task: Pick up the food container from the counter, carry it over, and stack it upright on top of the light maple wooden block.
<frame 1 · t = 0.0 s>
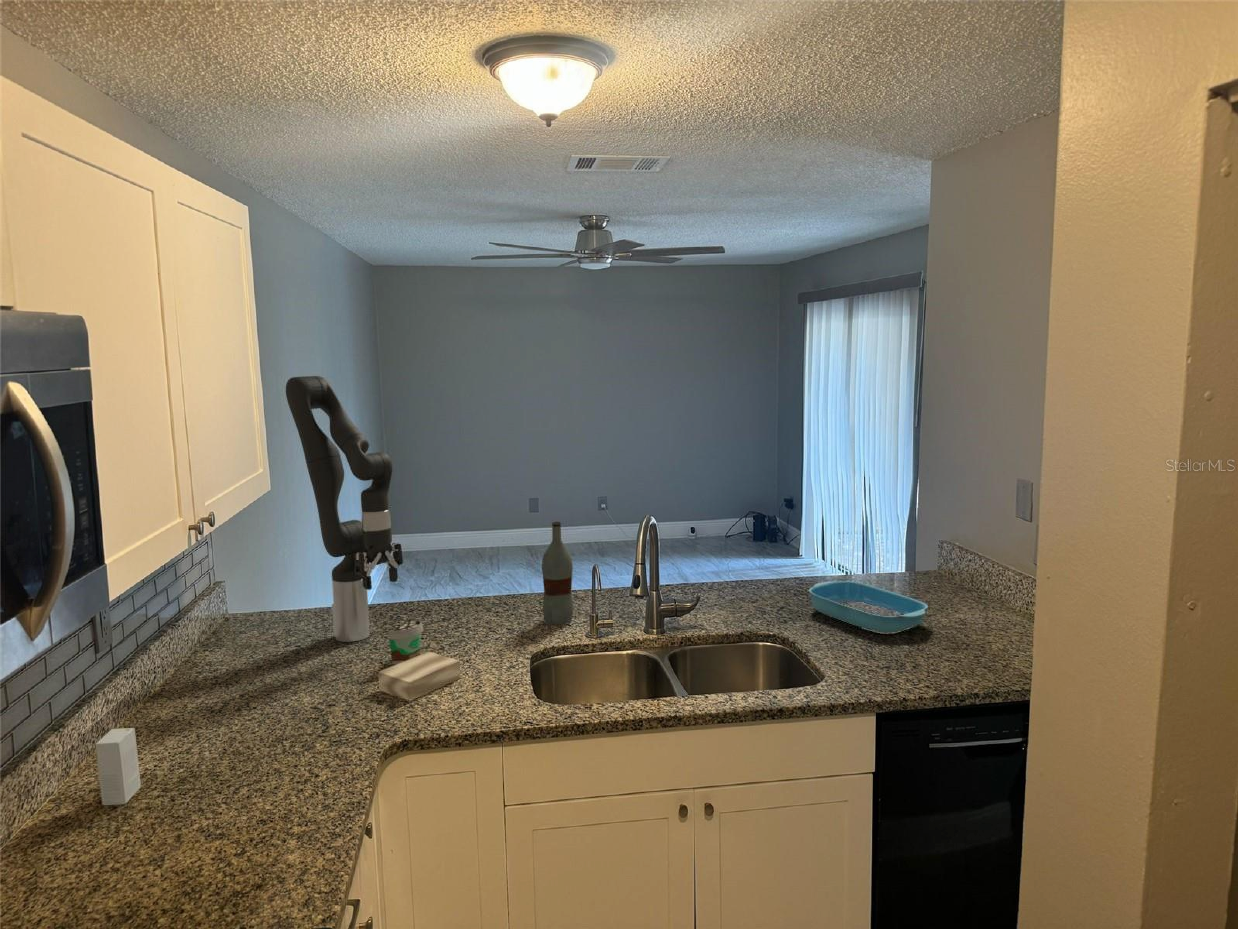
hand: (380, 585, 227), 17 cm above the worktop, tool pointing down, fingers open, 8 cm apart
maple block: (420, 685, 203), on the worktop
casserole dish: (865, 620, 249), on the worktop
food container: (411, 661, 218), on the worktop
bottle: (558, 621, 249), on the worktop
skincare box: (121, 797, 154), on the worktop
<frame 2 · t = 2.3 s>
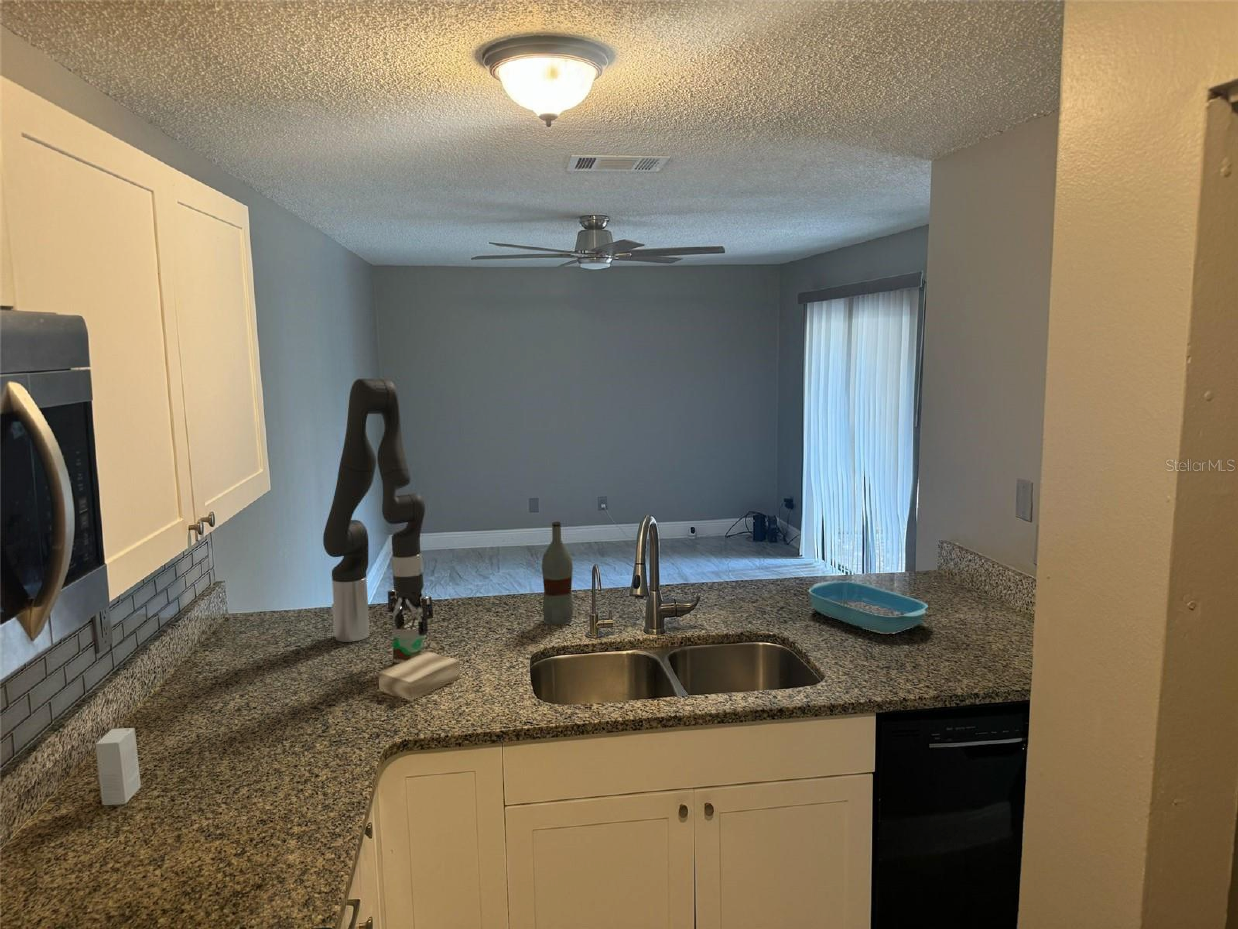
hand: (411, 631, 217), 8 cm above the worktop, tool pointing down, fingers open, 8 cm apart
food container: (411, 661, 218), on the worktop, touching gripper
everything else where it was.
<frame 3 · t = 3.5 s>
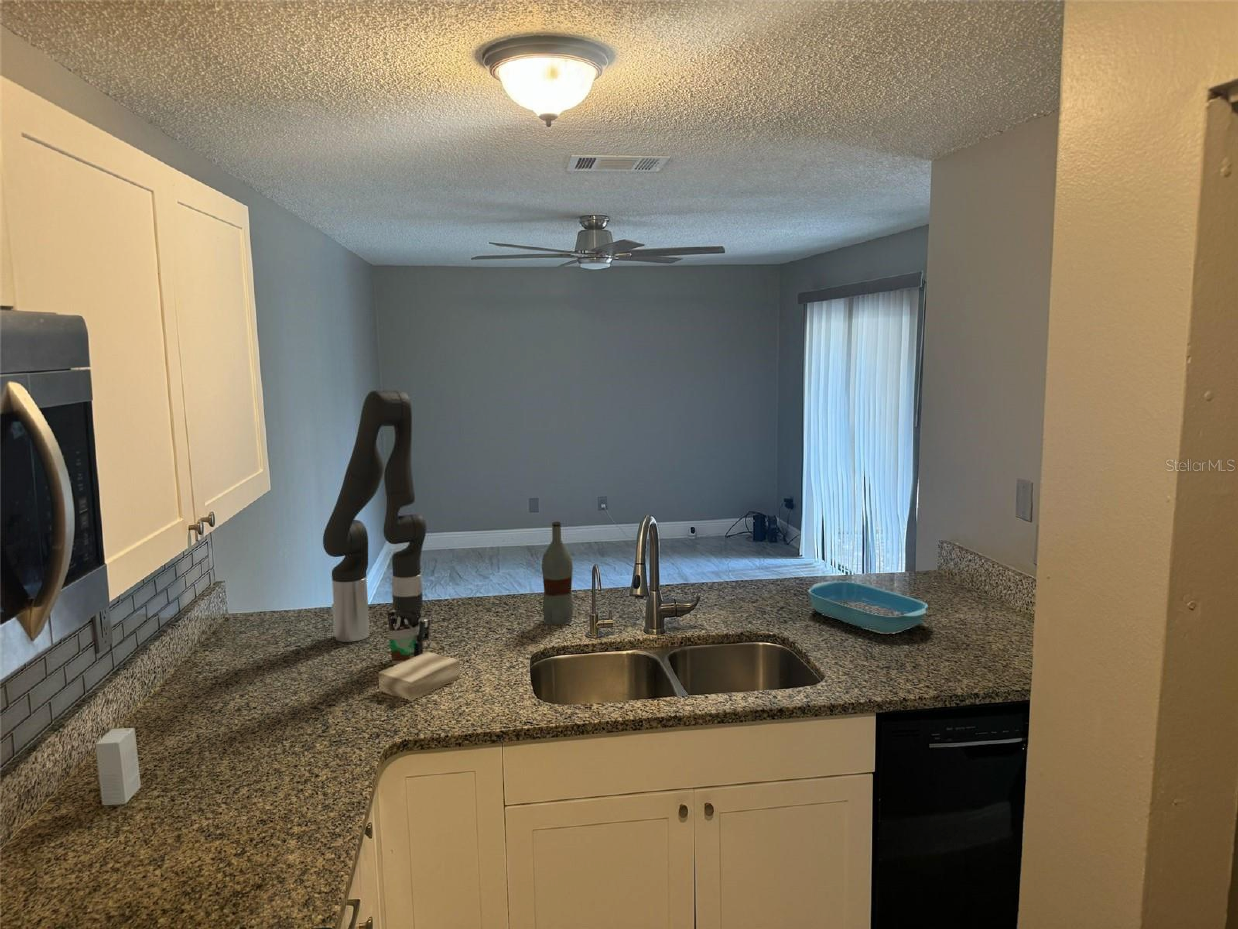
hand: (409, 652, 218), 2 cm above the worktop, tool pointing down, fingers closed on food container, 6 cm apart
food container: (411, 661, 218), on the worktop, touching gripper
everything else where it was.
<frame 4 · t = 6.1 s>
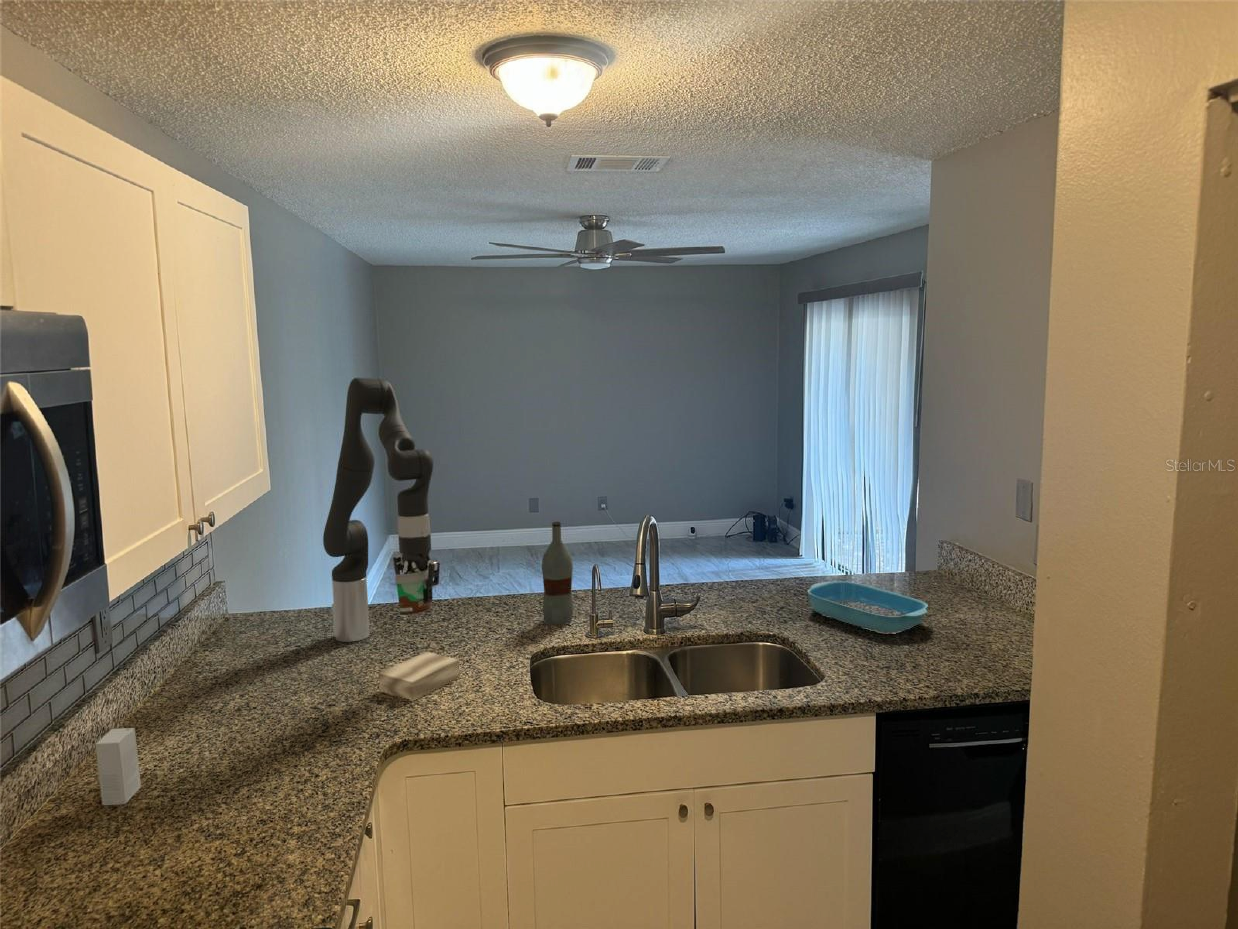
hand: (418, 600, 203), 20 cm above the worktop, tool pointing down, fingers closed on food container, 6 cm apart
food container: (421, 610, 202), point 18 cm above the worktop, touching gripper
everything else where it was.
when the fingers open (8 cm above the worktop, at t = 9.0 s): food container drops 2 cm, point 5 cm above the worktop.
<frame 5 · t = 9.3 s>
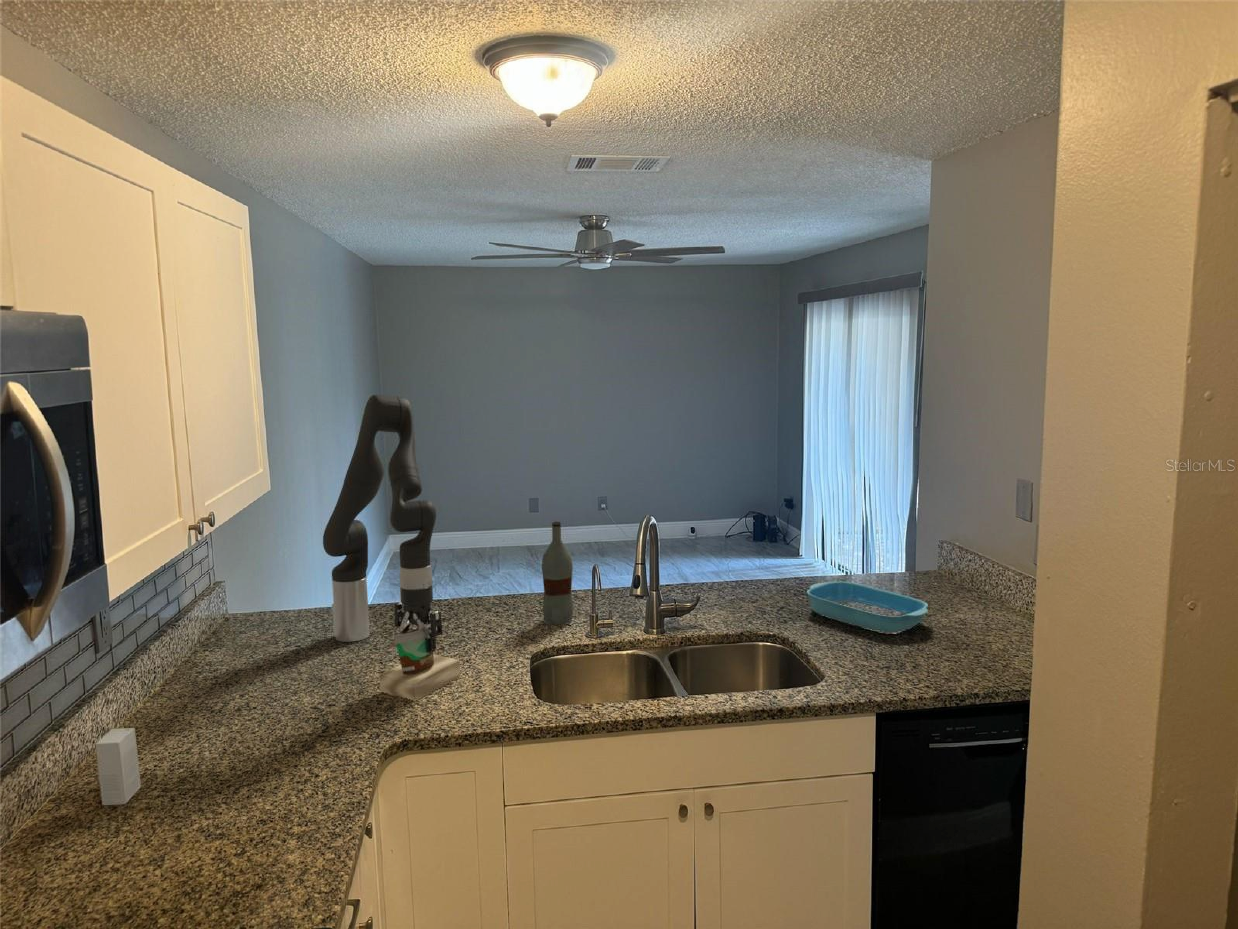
hand: (419, 648, 202), 9 cm above the worktop, tool pointing down, fingers open, 8 cm apart
food container: (424, 667, 202), point 5 cm above the worktop, touching gripper
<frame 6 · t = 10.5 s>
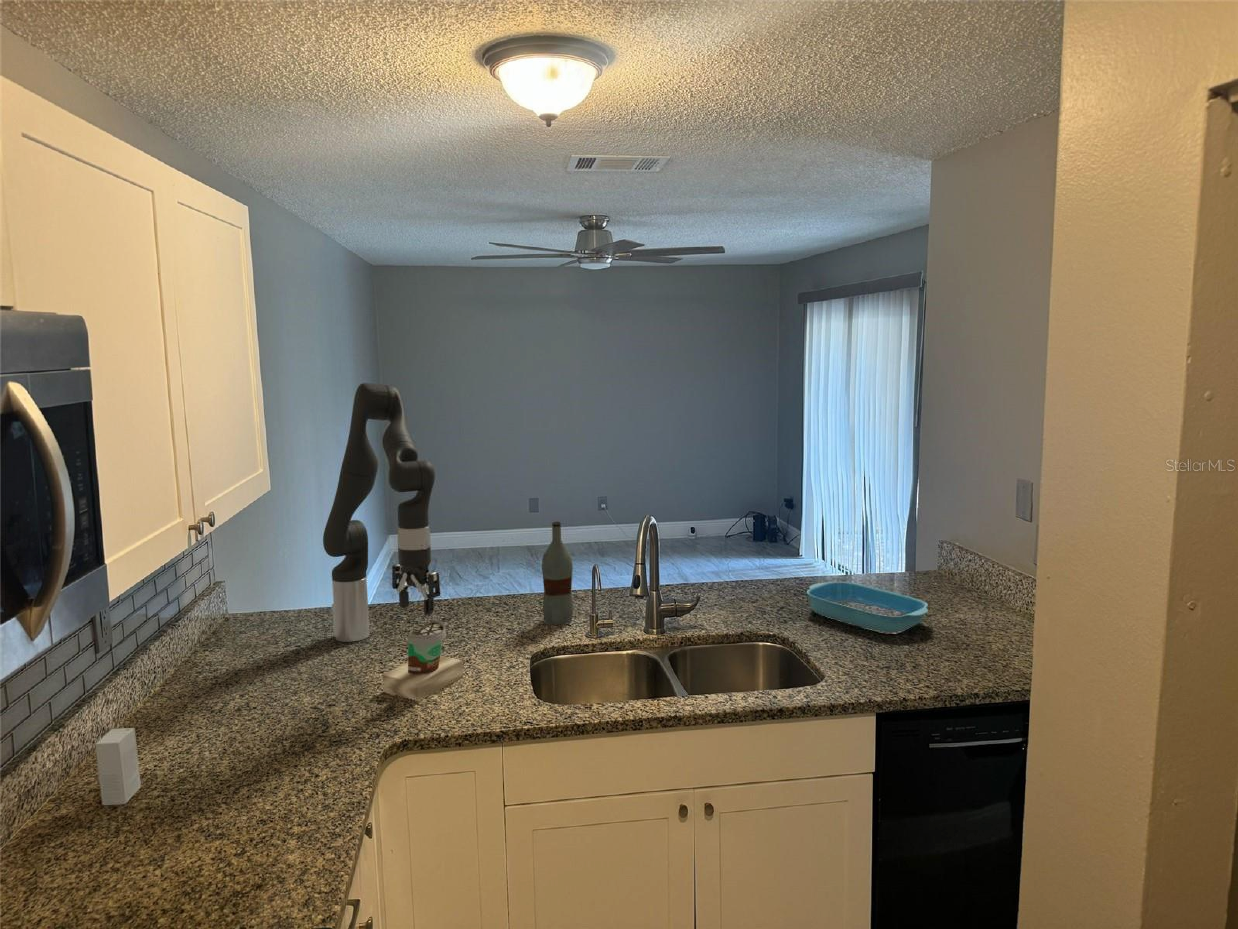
hand: (416, 610, 201), 19 cm above the worktop, tool pointing down, fingers open, 8 cm apart
maple block: (424, 687, 203), on the worktop, touching food container
food container: (429, 669, 201), point 4 cm above the worktop, touching maple block
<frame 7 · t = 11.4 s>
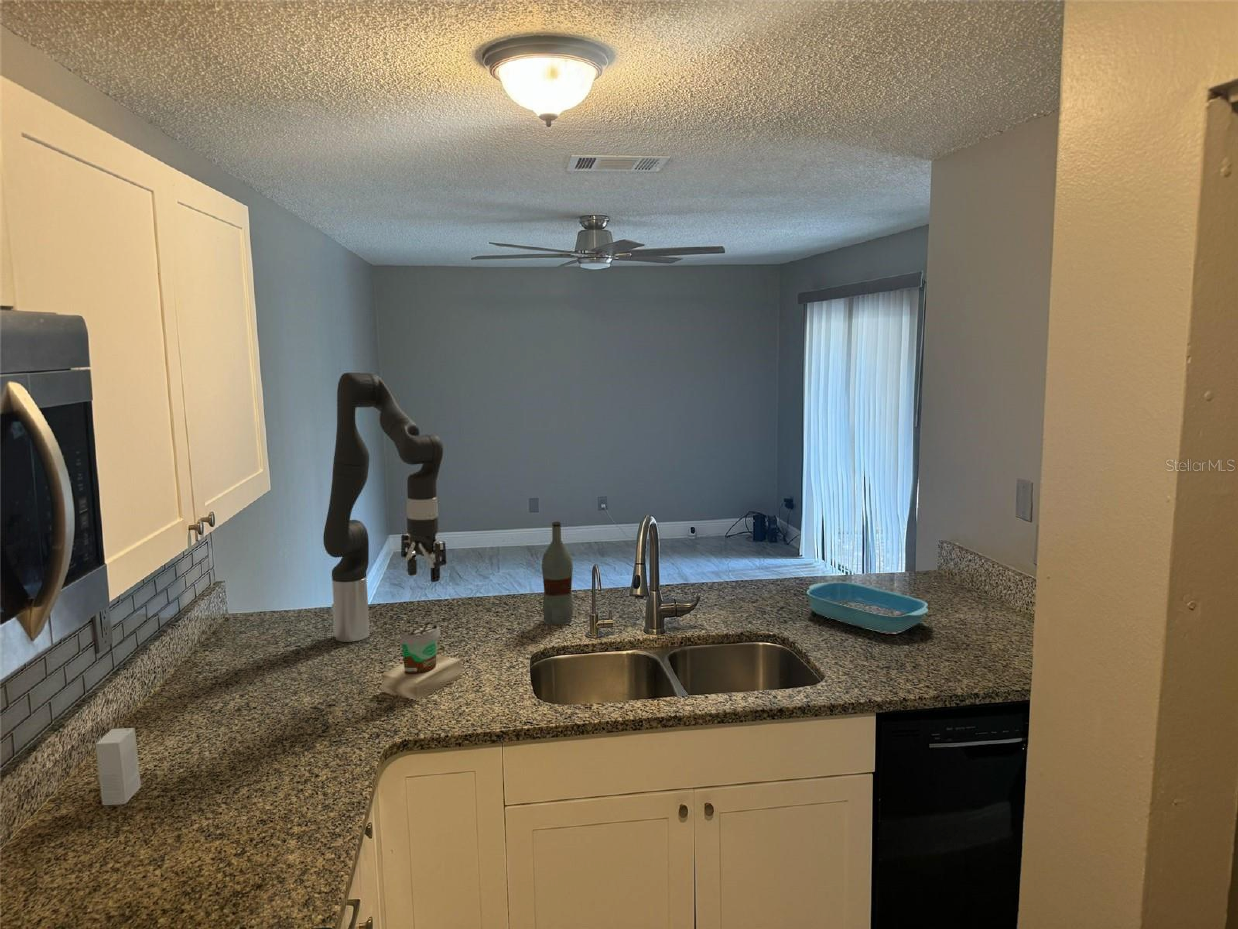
hand: (423, 578, 210), 24 cm above the worktop, tool pointing down, fingers open, 8 cm apart
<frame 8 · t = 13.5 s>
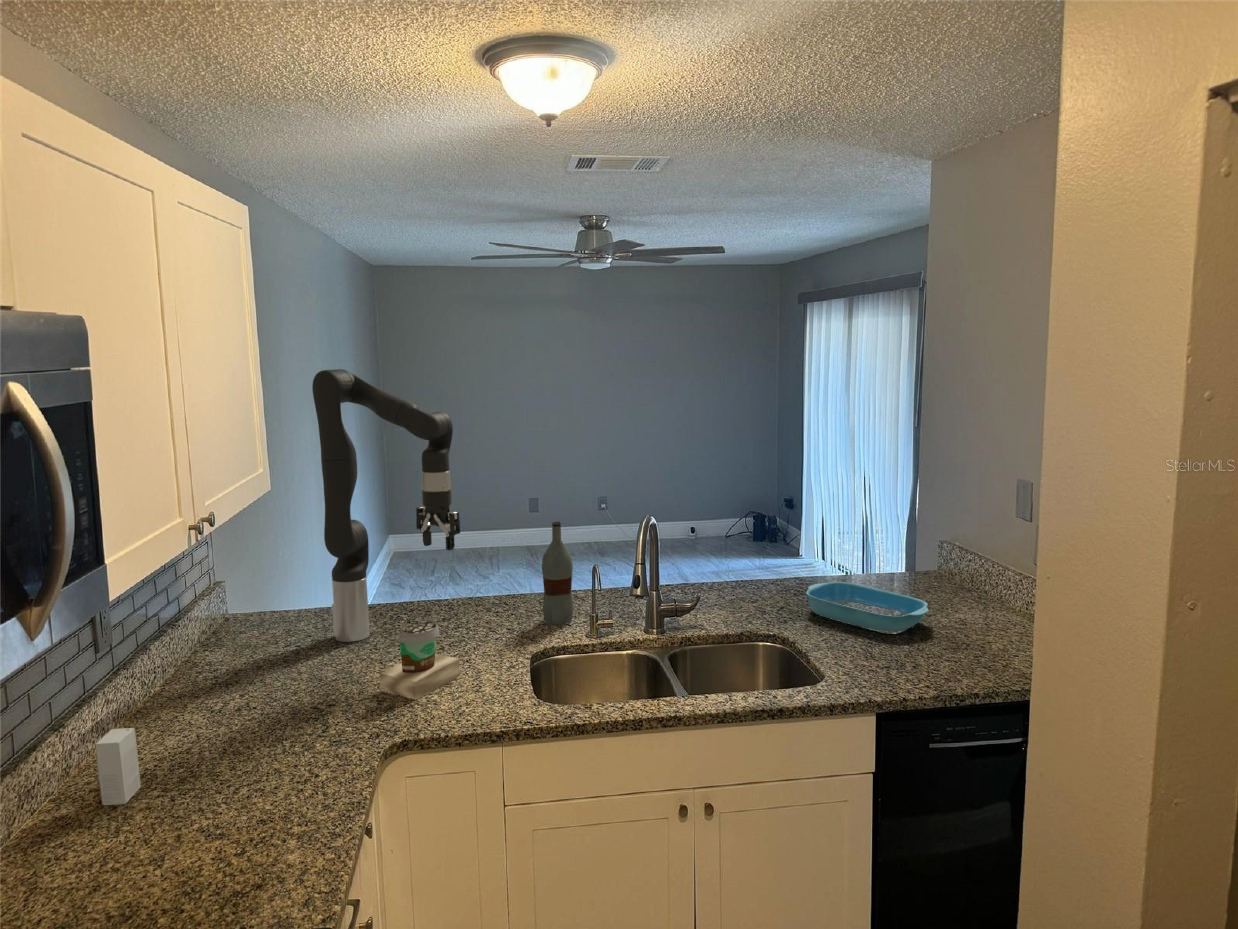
hand: (438, 547, 223), 28 cm above the worktop, tool pointing down, fingers open, 8 cm apart
maple block: (421, 685, 204), on the worktop
food container: (424, 667, 202), point 4 cm above the worktop
at the end: food container inside the target area on the maple block (1.6 cm from its centre), point 4.9 cm above the maple block's base; food container tilted 2°; the gripper is holding nothing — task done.
